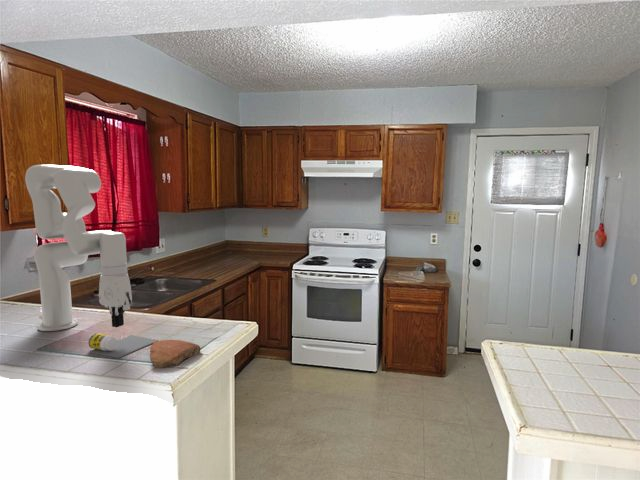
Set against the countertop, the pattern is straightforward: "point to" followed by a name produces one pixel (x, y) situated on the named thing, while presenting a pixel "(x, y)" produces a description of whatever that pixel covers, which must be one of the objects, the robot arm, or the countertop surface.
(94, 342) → the supplement bottle
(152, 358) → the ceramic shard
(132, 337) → the mat
